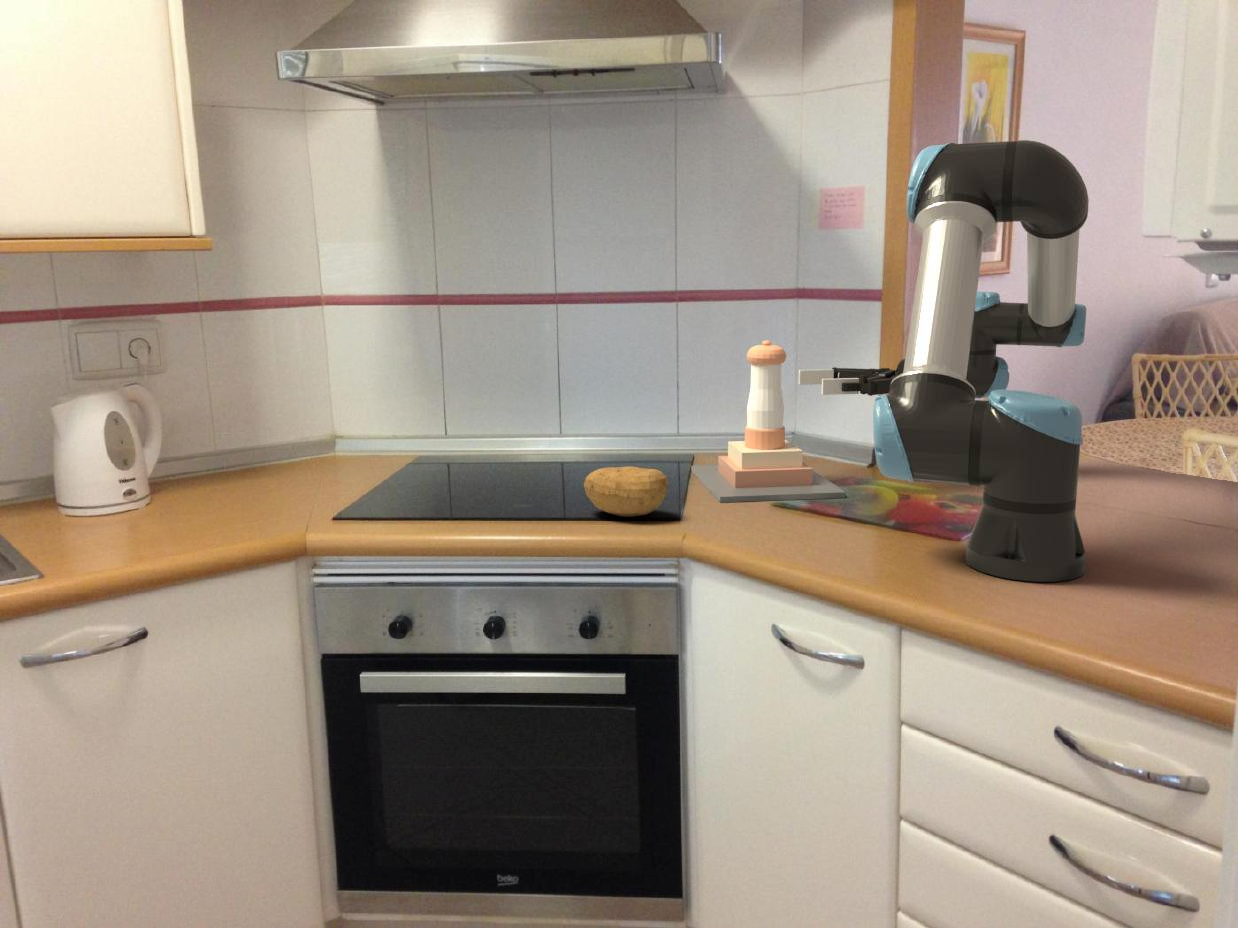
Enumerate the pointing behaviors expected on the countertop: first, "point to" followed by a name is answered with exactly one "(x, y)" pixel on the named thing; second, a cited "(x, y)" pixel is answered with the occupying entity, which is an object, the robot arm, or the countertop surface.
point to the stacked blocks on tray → (764, 476)
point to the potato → (626, 490)
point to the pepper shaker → (765, 398)
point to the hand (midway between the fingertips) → (810, 382)
